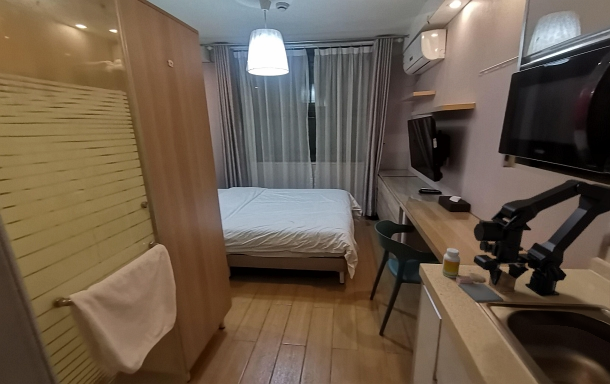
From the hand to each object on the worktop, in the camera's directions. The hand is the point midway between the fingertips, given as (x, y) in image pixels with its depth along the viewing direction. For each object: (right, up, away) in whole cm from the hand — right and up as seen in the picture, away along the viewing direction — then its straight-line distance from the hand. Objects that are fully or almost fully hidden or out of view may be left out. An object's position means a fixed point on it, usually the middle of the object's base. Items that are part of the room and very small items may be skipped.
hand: (501, 284), depth 93 cm
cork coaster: (-5, 0, +7) cm, 8 cm away
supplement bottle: (-13, 0, +9) cm, 16 cm away
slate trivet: (-9, -2, -2) cm, 9 cm away
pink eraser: (-10, -1, +4) cm, 11 cm away
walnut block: (0, -2, 0) cm, 2 cm away
